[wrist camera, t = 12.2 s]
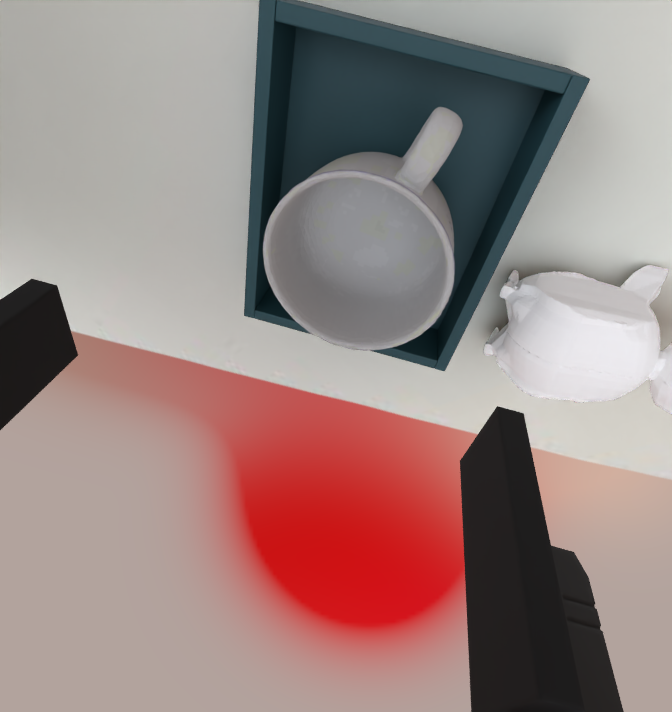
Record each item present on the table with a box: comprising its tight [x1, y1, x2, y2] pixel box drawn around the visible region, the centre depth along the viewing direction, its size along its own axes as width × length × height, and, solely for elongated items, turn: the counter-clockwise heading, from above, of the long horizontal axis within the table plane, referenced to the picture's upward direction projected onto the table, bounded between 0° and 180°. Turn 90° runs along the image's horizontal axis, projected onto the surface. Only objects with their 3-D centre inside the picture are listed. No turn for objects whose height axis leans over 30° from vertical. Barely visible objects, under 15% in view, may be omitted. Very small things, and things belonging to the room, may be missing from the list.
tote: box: [244, 0, 590, 371], centre depth 27 cm, size 16×19×5 cm
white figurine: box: [483, 265, 672, 414], centre depth 28 cm, size 9×8×15 cm
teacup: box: [263, 107, 463, 350], centre depth 25 cm, size 14×11×8 cm
